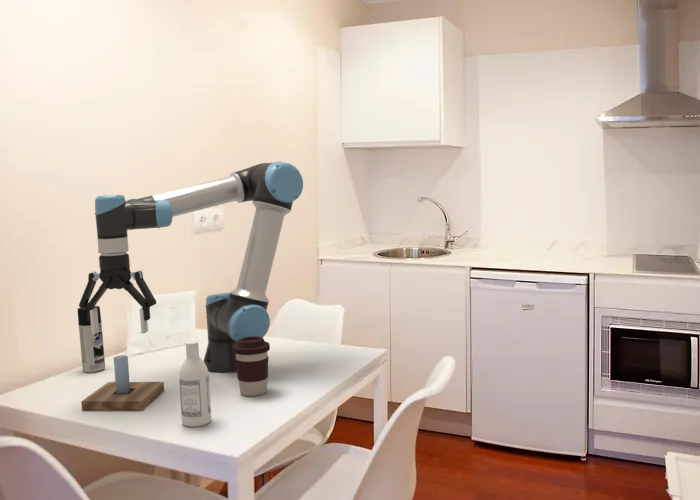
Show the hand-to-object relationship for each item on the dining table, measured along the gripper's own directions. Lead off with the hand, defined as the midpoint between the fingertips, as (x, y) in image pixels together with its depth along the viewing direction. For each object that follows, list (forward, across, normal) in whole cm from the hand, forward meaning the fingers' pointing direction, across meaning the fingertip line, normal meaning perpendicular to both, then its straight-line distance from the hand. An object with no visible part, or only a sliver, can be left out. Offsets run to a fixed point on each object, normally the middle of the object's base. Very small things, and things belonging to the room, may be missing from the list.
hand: (120, 332), depth 181 cm
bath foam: (+19, -25, +16) cm, 35 cm away
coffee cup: (+19, -34, -6) cm, 39 cm away
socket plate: (+19, 0, 0) cm, 19 cm away
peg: (+19, 0, 0) cm, 19 cm away
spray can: (+19, +22, -28) cm, 40 cm away
